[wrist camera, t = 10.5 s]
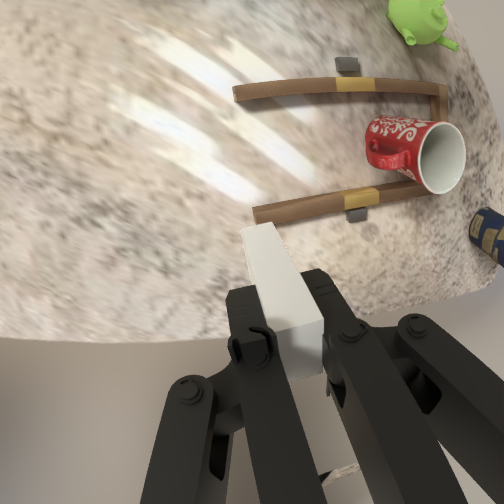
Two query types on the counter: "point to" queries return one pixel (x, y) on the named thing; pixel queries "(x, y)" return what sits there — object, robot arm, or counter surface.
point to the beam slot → (352, 198)
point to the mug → (418, 150)
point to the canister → (489, 233)
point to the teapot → (420, 21)
